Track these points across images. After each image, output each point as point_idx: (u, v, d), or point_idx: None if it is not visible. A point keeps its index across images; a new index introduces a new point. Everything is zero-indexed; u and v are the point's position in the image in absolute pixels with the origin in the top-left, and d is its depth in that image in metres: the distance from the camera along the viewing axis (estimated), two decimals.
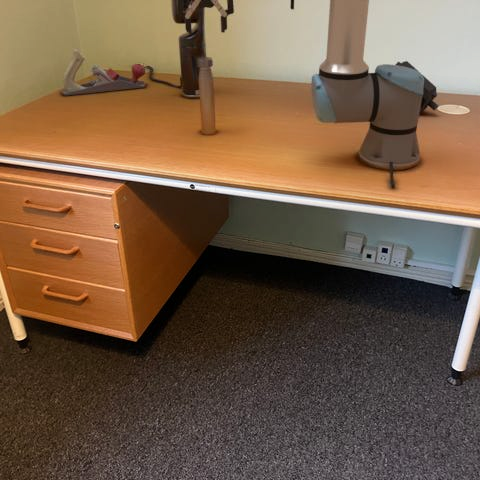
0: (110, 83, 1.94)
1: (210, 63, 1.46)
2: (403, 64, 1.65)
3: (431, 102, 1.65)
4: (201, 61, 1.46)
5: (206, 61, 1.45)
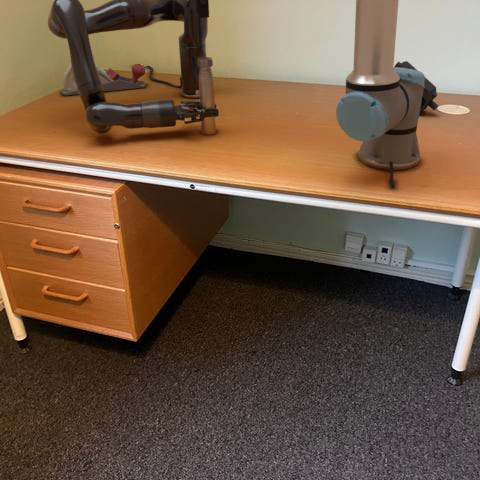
0: (110, 83, 1.94)
1: (210, 63, 1.46)
2: (403, 64, 1.65)
3: (431, 102, 1.65)
4: (201, 61, 1.46)
5: (206, 61, 1.45)
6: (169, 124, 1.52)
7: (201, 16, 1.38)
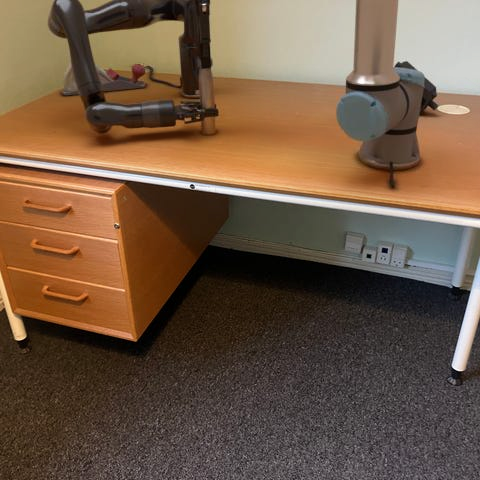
0: (110, 83, 1.94)
1: None
2: (403, 64, 1.65)
3: (431, 102, 1.65)
4: None
5: None
6: (169, 124, 1.52)
7: (203, 67, 1.46)
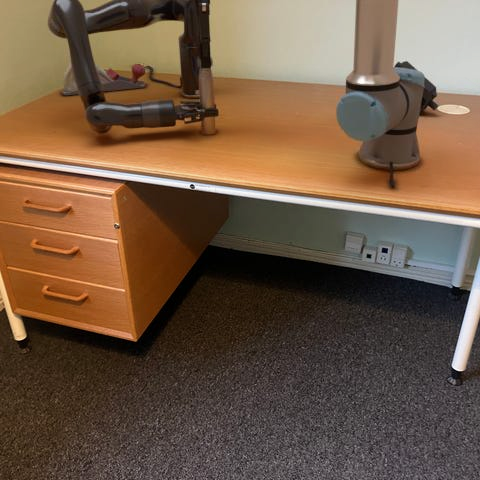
0: (110, 83, 1.94)
1: None
2: (403, 64, 1.65)
3: (431, 102, 1.65)
4: (211, 60, 1.46)
5: None
6: (169, 124, 1.52)
7: (203, 67, 1.45)
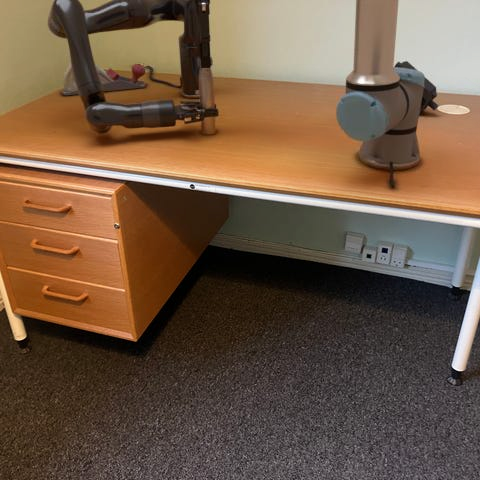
0: (110, 83, 1.94)
1: None
2: (403, 64, 1.65)
3: (431, 102, 1.65)
4: None
5: None
6: (169, 124, 1.52)
7: (203, 67, 1.45)
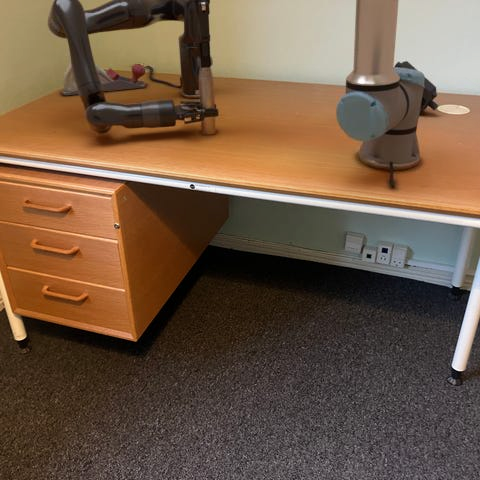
0: (110, 83, 1.94)
1: (200, 62, 1.46)
2: (403, 64, 1.65)
3: (431, 102, 1.65)
4: None
5: (197, 59, 1.46)
6: (169, 124, 1.52)
7: (203, 66, 1.45)
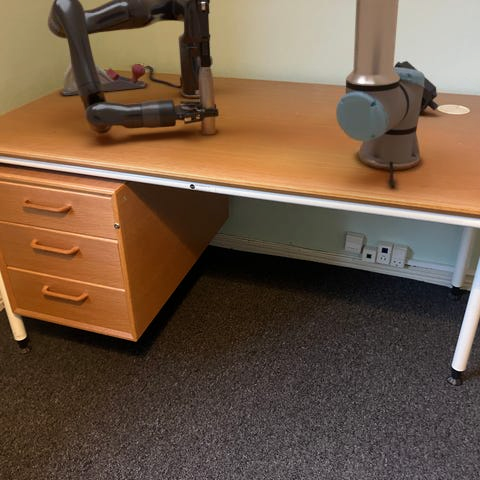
0: (110, 83, 1.94)
1: (211, 61, 1.46)
2: (403, 64, 1.65)
3: (431, 102, 1.65)
4: None
5: None
6: (169, 124, 1.52)
7: (203, 66, 1.45)
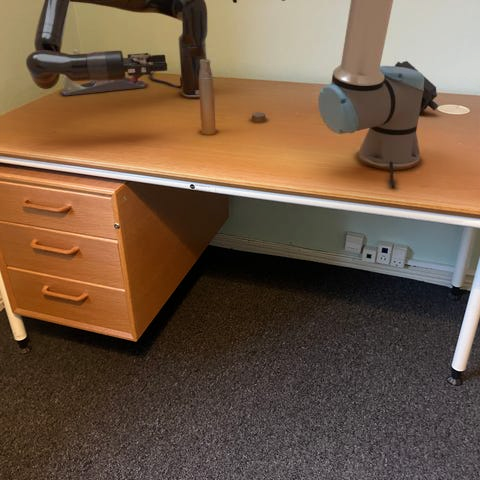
0: (110, 83, 1.94)
1: None
2: (403, 64, 1.65)
3: (431, 102, 1.65)
4: None
5: None
6: (117, 76, 1.43)
7: None
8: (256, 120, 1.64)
